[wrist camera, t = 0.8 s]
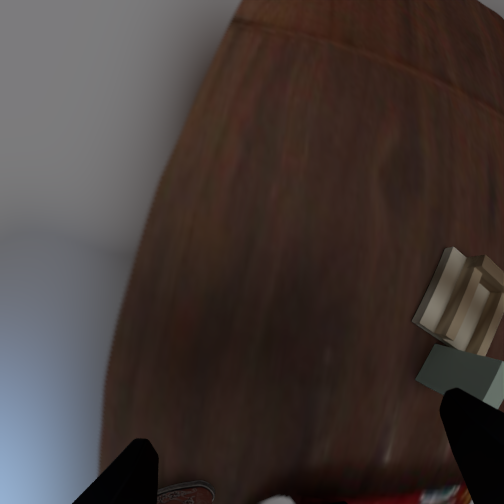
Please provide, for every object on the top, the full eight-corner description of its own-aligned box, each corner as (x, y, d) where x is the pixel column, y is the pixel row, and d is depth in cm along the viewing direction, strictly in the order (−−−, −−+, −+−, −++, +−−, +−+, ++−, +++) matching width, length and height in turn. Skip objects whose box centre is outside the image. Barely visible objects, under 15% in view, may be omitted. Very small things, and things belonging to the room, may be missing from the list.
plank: (430, 388, 26) (492, 419, 16) (414, 379, 26) (477, 411, 16) (449, 353, 26) (516, 371, 16) (434, 343, 26) (502, 360, 16)
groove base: (472, 362, 26) (498, 370, 22) (411, 321, 26) (437, 326, 22) (500, 296, 27) (527, 296, 22) (444, 248, 27) (472, 242, 23)
